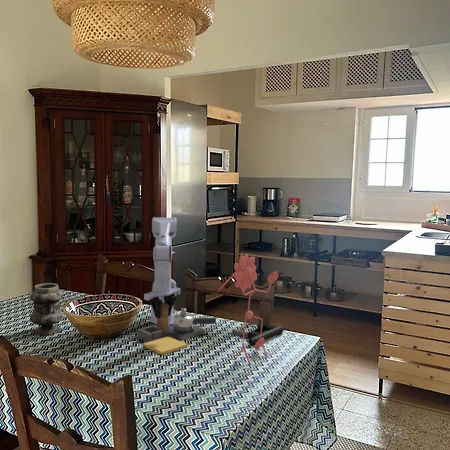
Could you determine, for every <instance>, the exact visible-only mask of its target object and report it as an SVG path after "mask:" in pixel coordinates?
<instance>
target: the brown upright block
mask: <svg viewBox="0 0 450 450" xmlns="http://www.w3.org/2000/svg"><path fill="white" fill-rule="evenodd" d="M168 308H169V305H168V303H165V302H162V304H161V310H160V318H157V324H156V326H157V329H158V330H167V329H168V327H169V325H168Z"/></svg>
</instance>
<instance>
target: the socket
mask: <svg viewBox="0 0 450 450" xmlns="http://www.w3.org/2000/svg"><path fill="white" fill-rule="evenodd" d="M164 337H167V334H166V330H158V329H157V324H156V325H155V324H153V325H149V326H145V327H141V328H138V329H137V338H138V339H141V340H143V341H146V343H147V342H150V341H154V340H157V339H161V338H164Z"/></svg>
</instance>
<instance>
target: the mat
mask: <svg viewBox="0 0 450 450" xmlns="http://www.w3.org/2000/svg"><path fill="white" fill-rule="evenodd" d="M143 347H144V348H147V349H149V350H150V351H153V352H155V353H157V354H160V355H161V356H163V355H166V354H170V353H173V352H176V351H178V350H179V351H180V350H182V349H185V348H187V347H188V344H187V343H186V342H182V341H181V340H179V339H176V338H174V337H172V336H169V335H167V336H166V337H164V338H161V339H157V340H154V341H150V342H147V341H146V342H144V343H143Z"/></svg>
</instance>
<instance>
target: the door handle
mask: <svg viewBox="0 0 450 450" xmlns="http://www.w3.org/2000/svg"><path fill="white" fill-rule="evenodd" d="M243 331H244V330H239V329H233V330H232V335H236V336H239V337H242V338H243ZM283 333H284V328H283V327H282V326H281V325H278V326H275V325H269V324H264V323H262V334H261V323H259V324H257V326H256V328H255V329H253V330H250V331H245V332H244V338H246V339H247V340H248V341H247V342H248V345H250V346H251V347H252V346H253V347H254V346H255V344H256V342H257V341H258V340H259V339H260V334H261V339H262V338H264V343H266V342H269V341H271V340H273V339H275V338H277V337H278V336H279V335H281V334H283ZM264 343H263V344H264Z"/></svg>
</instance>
